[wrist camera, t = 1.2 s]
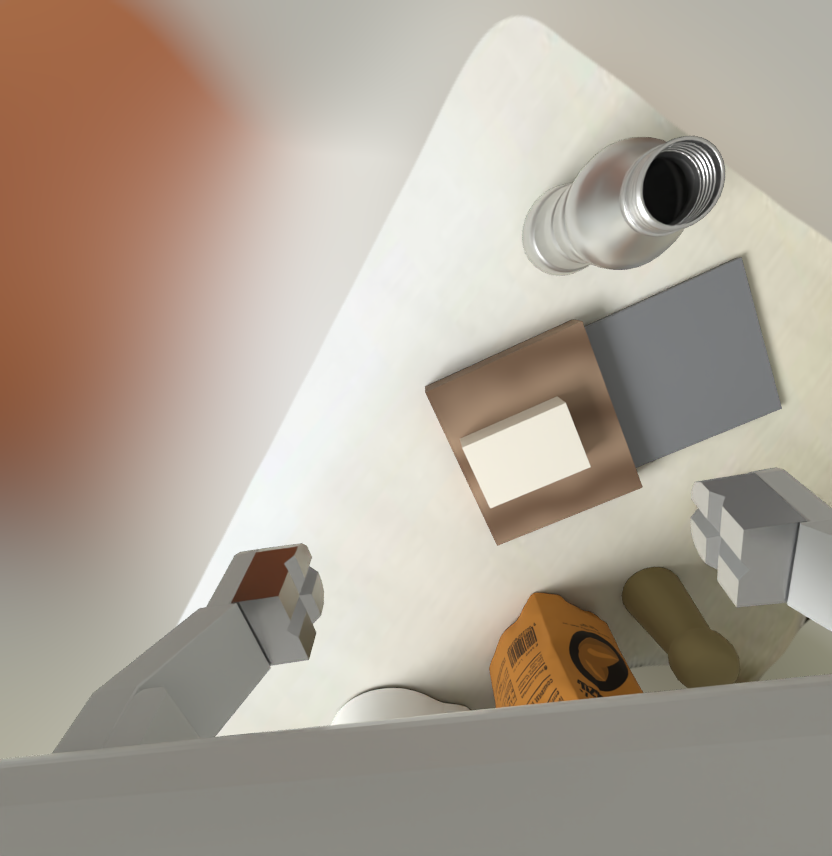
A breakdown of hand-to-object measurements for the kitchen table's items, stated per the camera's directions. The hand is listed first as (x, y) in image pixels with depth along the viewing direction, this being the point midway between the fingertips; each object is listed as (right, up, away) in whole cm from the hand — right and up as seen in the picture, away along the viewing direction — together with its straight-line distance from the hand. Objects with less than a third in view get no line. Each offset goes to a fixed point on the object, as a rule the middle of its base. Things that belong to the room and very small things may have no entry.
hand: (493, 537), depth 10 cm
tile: (+8, +1, +32) cm, 33 cm away
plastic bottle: (+10, +18, +30) cm, 36 cm away
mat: (+22, +8, +32) cm, 40 cm away
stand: (+9, +2, +34) cm, 35 cm away
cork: (+22, -14, +39) cm, 47 cm away
